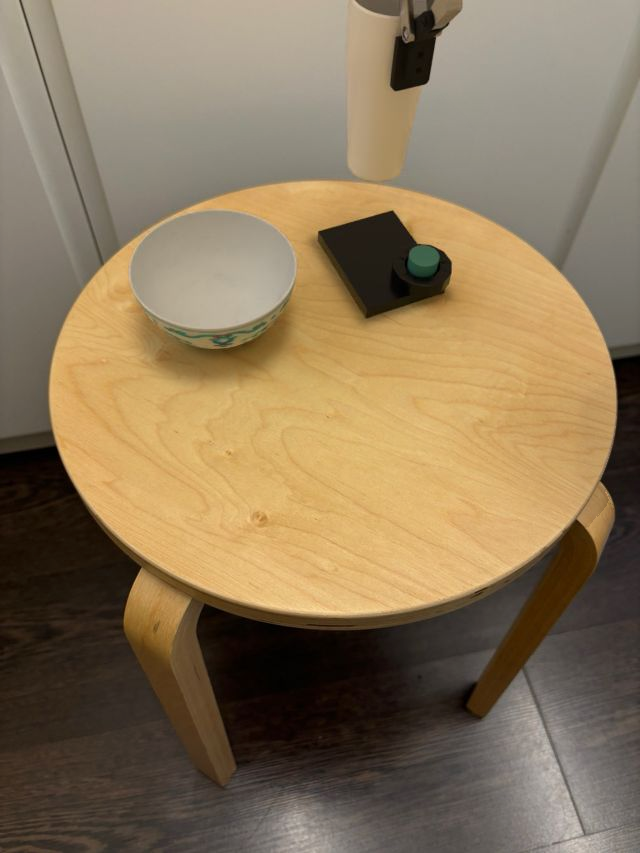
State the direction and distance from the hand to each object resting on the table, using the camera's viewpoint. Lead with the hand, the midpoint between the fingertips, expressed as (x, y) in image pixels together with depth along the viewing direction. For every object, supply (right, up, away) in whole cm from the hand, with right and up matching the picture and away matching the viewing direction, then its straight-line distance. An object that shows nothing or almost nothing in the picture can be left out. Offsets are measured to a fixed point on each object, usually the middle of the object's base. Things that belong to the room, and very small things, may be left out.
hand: (387, 59), depth 56 cm
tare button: (+5, -13, +14) cm, 20 cm away
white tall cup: (0, -6, +9) cm, 10 cm away
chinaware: (-15, -19, +13) cm, 28 cm away
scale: (+1, -13, +18) cm, 22 cm away
